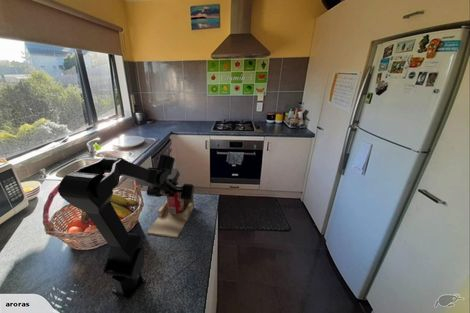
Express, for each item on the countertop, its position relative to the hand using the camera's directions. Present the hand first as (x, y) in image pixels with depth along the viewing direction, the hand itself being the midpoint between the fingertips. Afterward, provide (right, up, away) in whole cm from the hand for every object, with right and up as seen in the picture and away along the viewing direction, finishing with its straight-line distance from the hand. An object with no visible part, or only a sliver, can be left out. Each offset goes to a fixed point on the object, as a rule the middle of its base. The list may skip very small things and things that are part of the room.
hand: (177, 194), depth 89 cm
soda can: (-1, -8, +1) cm, 8 cm away
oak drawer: (-1, -10, -3) cm, 11 cm away
